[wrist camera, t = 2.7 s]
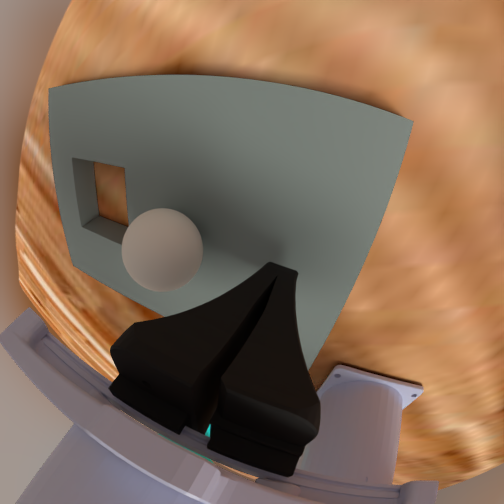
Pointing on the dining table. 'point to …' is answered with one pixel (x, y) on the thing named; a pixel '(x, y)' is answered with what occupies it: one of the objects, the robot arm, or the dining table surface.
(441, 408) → the dining table surface
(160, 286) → the ball
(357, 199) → the plate
